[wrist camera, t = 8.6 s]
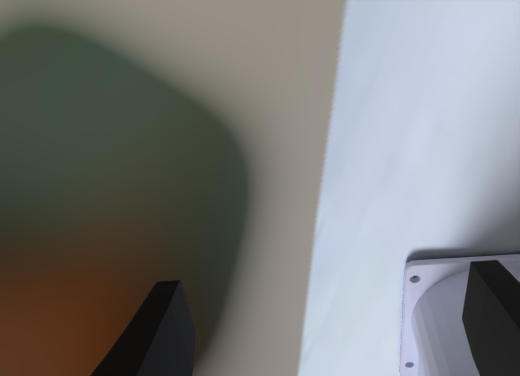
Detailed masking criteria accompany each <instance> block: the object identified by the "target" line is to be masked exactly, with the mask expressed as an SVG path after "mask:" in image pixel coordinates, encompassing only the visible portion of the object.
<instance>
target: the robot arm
mask: <svg viewBox="0 0 520 376" xmlns="http://www.w3.org/2000/svg"><path fill="white" fill-rule="evenodd" d="M412 276H417V277H414V278H412ZM195 341H196V330H195V327H194V323H193V320H192V317H191V314H190V310H189V307H188V304H187V301H186V297H185V294H184V291H183V287H182V284H181V281H180V280H175V281H160V282H157V283H156V284H155V285H154V286H153V288H152V289H151V291H150V292H149V294H148V295H147V297H146V299H145V300H144V301H143V303H142V305H141V306H140V308H139V309H138V311H137V312H136V314H135V315H134V317H133V318H132V320H131V321H130V322H129V324H128V326H127V327H126V328H125V330H124V331H123V333H122V334H121V335H120V337H119V338H118V340H117V341H116V342H115V344H114V345H113V346H112V348H111V349H110V351H109V352H108V353H107V355H106V356H105V357H104V359H103V360H102V361H101V362H100V364H99V365H98V366H97V367H96V369H95V370H94V371H93V372H92V374H91V375H90V376H192V372H193V363H194V353H195ZM399 372H400V376H520V254H514V255H496V256H479V257H462V258H445V259H428V260H413V261H410V262H408V263H407V264H406V265H405V267H404V284H403V305H402V325H401V345H400V366H399Z"/></svg>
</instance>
